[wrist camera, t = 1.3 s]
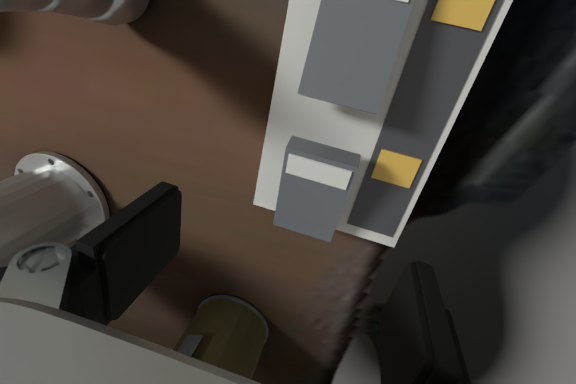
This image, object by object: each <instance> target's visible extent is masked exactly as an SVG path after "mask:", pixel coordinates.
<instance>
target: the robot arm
mask: <svg viewBox="0 0 576 384" xmlns="http://www.w3.org/2000/svg"><path fill="white" fill-rule="evenodd" d="M181 198H182V194H181V191H179V190H178V187H177V186H175V185H172V184H169V183H165V182H161V183H159V184H157V185H156V186H155V187H153V188H152V189H150V190H149V191H147V192H146V193H144V194H143V195H142V196H140V197H139V198H137V199H136V200H134V201H133V202H131V203H130V204H129V205H127V206H126V207H124V208H123V209H121V210H120V211H118V212H117V213H116V214H114V215H113V216H111V217H110V216H109V208H108V205H107V201H106V199H105V197H104V194H103V192H102V190H101V189H100V187H99V186H98V184H97V183H96V182H95V180H94V179H93V178H92V177H91V175H90V174H89V173H87V172H86V171H85V170H84V169H83V168H82V167H81V166H79V165H78V164H77V163H75V162H74V161H72V160H71V159H69V158H67V157H65V156H63V155H60V154H57V153H54V152H48V151H41V152H36V153H33V154H29V155H27V156H25V157H23V158H22V159H21V160H20V161H19V162H18V164H17V166H16V169H15V175H14V176H12V177H10V178H7V179H5V180H2V181H0V384H261V383H258V382H256V381H253V380H250V379H248V378H245V377H242V376H240V375H237V374H235V373H232V372H229V371H227V370H224V369H221V368H219V367H216V366H213V365H211V364H208V363H205V362H203V361H200V360H197V359H195V358H192V357H189V356H187V355H184V354H181V353H179V352H176V351H173V350H171V349H168V348H165V347H163V346H160V345H157V344H154V343H152V342H149V341H146V340H144V339H141V338H138V337H136V336H133V335H130V334H127V333H125V332H122V331H119V330H117V329H114V328H111V327H109V326H107V325H108V324H109V323H110V322H111V320H116V319H118V318H119V317H120V316H121V315H122V314H123V313H124V311H125V310H126V309H127V308H128V307H129V306H130V305H131V304H132V303H133V301H134V300H135V299H136V298H137V297H138V296H139V295H140V294H141V293H142V291H143V290H144V289H145V288H146V287H147V286H148V285H149V284H150V282H151V281H152V280H153V279H154V278H155V277H156V276H157V275H158V274H159V272H160V271H161V270H162V269H163V268H164V267H165V266H166V265H167V264H168V262H169V261H170V260H171V259H172V258H173V257H174V256H175V255H176V253H177V252H178V250H179V247H180V226H181ZM379 329H380V363H381V384H471V382H470V379H469V376H468V372H467V368H466V365H465V362H464V358H463V355H462V351H461V348H460V344H459V341H458V337H457V334H456V331H455V327H454V323H453V320H452V316H451V314H450V312H449V311H448V310H447V309H445V308H444V304H443V301H442V297H441V293H440V290H439V286H438V282H437V279H436V275H435V272H434V268H433V266H432V265H430V264H427V263H424V262H420V261H417V260H415V261H414V262H413V263H410V262H408V263H407V264H406V266H405V268H404V270H403V272H402V274H401V276H400V278H399V280H398V282H397V284H396V285H395V287H394V289H393V291H392V293H391V295H390V297H389V299H388V301H387V303H386V305H385V307H384V309H383V310H382V313H381V315H380V320H379Z"/></svg>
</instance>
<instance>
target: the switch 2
mask: <svg viewBox="0 0 576 384" xmlns="http://www.w3.org/2000/svg"><path fill="white" fill-rule="evenodd" d="M360 157H361V155H360V154H357V153H353V152H349V151H346V150H342V149H339V148H335V147H332V146H328V145H324V144H321V143H317V142H314V141H310V140H306V139H303V138H299V137H296V136H292V137H291V138H290V140H289V142H288V144H287V146H286V149H285V155H284V161H283V167H282V173H281V179H280V186H279V192H278V198H277V204H276V210H275V216H274V222H273V225H276V226H279V227H282V228H286V229H289V230H292V231H295V232H298V233H301V234H305V235H308V236H311V237H314V238H317V239H321V240H324V241H327V242H330V241H331V239H332V236H333V233H334V231H335V228H336V226H337V223H338V220H339V218H340V215H341V212H342V210H343V207H344V205H345V202H346V199H347V197H348V194H349V191H350V189H351V186H352V183H353V181H354V178H355V176H356V173H357V170H358V168H359V162H360Z"/></svg>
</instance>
